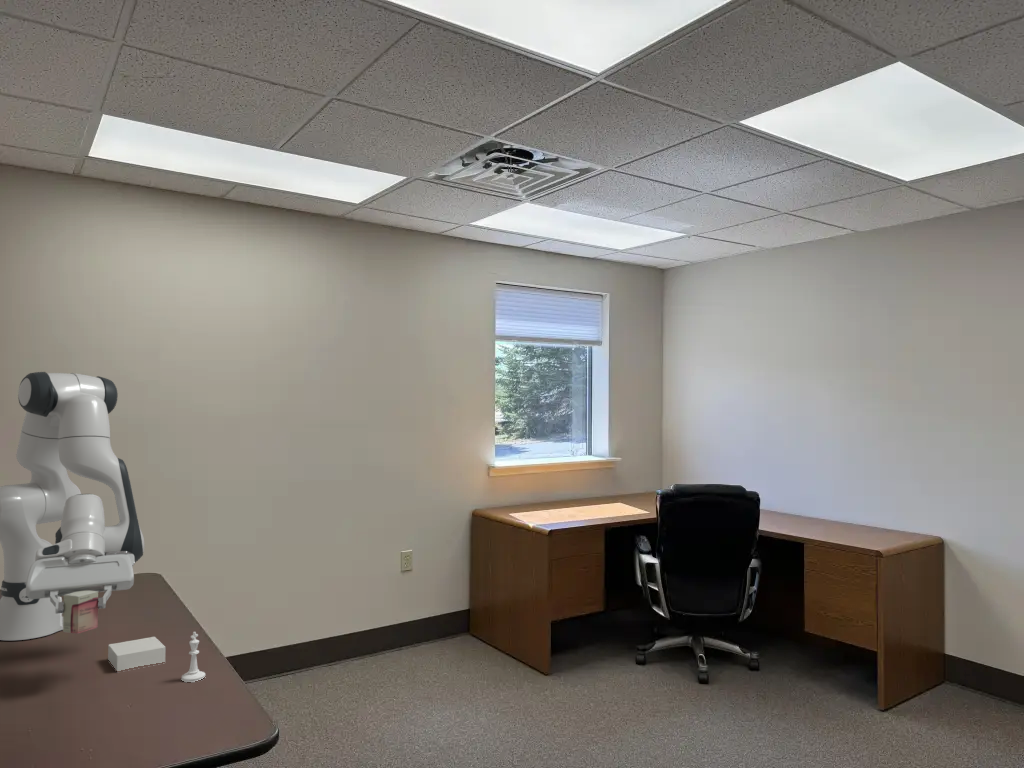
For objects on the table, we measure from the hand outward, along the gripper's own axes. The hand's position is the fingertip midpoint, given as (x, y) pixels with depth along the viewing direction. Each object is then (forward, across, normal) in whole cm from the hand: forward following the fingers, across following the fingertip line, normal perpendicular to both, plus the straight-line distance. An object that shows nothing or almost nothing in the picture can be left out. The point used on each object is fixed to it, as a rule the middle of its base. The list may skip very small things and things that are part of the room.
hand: (80, 609), depth 156 cm
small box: (+3, 0, -4) cm, 5 cm away
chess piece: (+16, -22, -7) cm, 28 cm away
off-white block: (+3, -11, -20) cm, 23 cm away
